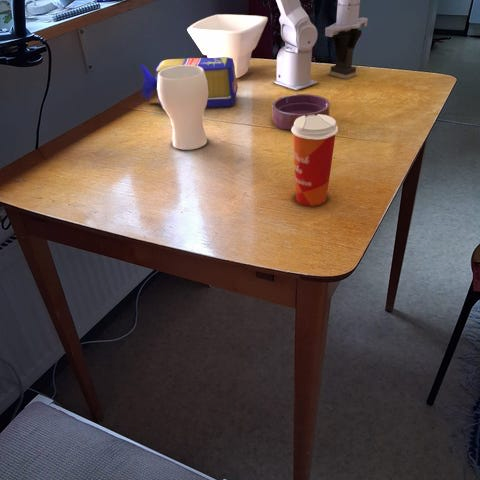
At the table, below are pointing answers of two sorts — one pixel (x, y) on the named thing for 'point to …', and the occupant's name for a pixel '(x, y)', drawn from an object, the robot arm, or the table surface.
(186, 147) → the cup
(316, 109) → the plum bowl
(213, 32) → the bowl
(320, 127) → the paper cup
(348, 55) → the brush
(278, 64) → the robot arm
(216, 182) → the table surface
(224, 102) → the bread
